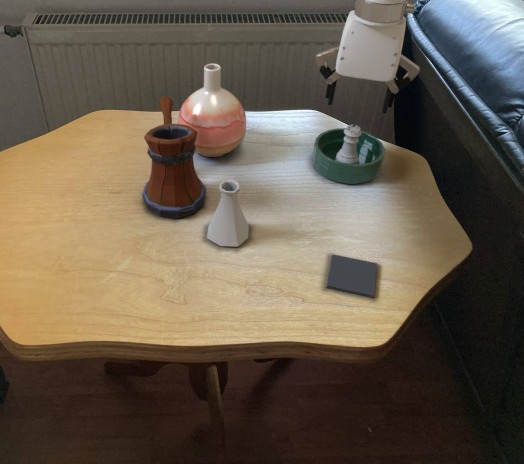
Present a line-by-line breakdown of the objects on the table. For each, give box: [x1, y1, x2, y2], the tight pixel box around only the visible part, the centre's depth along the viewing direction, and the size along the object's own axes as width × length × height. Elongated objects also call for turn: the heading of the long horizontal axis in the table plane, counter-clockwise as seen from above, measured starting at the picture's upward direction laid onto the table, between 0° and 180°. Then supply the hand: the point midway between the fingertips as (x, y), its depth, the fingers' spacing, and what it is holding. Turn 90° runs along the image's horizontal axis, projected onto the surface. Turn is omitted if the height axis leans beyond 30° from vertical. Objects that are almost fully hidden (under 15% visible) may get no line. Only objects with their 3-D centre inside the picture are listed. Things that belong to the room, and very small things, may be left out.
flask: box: [206, 179, 250, 248], centre depth 83 cm, size 7×7×10 cm
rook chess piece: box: [335, 124, 362, 164], centre depth 98 cm, size 4×4×8 cm
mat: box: [326, 254, 378, 299], centre depth 79 cm, size 7×7×1 cm
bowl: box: [311, 127, 386, 185], centre depth 100 cm, size 13×13×4 cm
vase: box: [177, 63, 248, 158], centre depth 100 cm, size 14×14×18 cm
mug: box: [141, 95, 207, 219], centre depth 90 cm, size 18×12×15 cm, turn 8°
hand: (357, 105), depth 93 cm, fingers open, 9 cm apart
